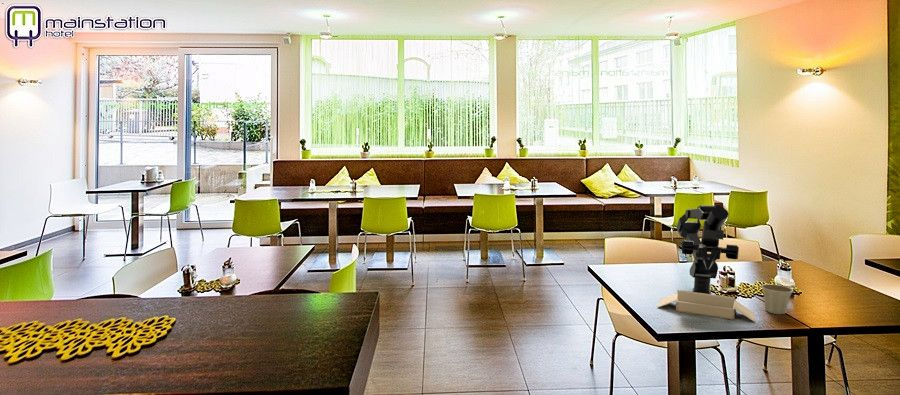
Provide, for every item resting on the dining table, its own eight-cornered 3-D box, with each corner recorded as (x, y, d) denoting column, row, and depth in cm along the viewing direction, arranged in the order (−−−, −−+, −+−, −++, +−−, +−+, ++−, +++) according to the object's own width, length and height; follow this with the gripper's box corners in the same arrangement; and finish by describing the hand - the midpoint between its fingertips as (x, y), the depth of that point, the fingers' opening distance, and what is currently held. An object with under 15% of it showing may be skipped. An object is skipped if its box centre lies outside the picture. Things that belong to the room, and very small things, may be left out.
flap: (677, 299, 183) (677, 289, 178) (733, 307, 175) (734, 297, 170) (677, 301, 182) (677, 291, 177) (733, 309, 174) (734, 298, 170)
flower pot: (796, 317, 179) (798, 292, 178) (765, 315, 181) (767, 290, 180) (784, 308, 188) (786, 285, 187) (755, 306, 190) (757, 283, 189)
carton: (661, 296, 200) (662, 287, 200) (753, 309, 186) (753, 299, 186) (657, 308, 187) (657, 297, 186) (755, 322, 173) (756, 311, 172)
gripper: (683, 219, 196) (679, 254, 188) (740, 223, 187) (738, 260, 179) (684, 236, 204) (679, 270, 196) (738, 240, 195) (736, 277, 187)
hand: (707, 269), depth 189 cm, fingers closed
